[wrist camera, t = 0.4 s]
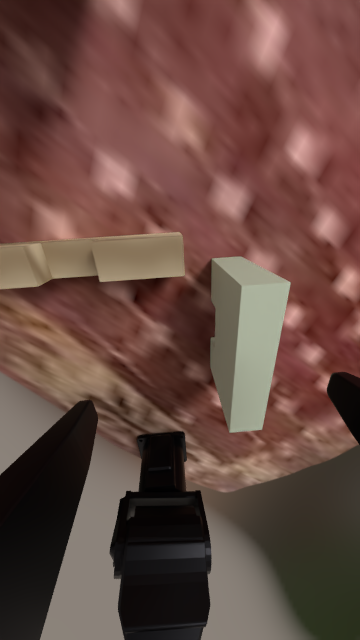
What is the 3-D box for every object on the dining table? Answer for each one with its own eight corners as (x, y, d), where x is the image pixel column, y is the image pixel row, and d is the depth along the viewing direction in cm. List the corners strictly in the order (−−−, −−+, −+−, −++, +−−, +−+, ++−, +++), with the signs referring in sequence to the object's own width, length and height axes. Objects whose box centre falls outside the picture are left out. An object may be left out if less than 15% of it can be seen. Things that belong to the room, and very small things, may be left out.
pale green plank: (232, 364, 23) (261, 429, 16) (210, 366, 23) (229, 432, 16) (241, 256, 18) (290, 282, 11) (211, 258, 18) (241, 285, 11)
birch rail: (181, 264, 18) (184, 275, 14) (-6, 277, 17) (-50, 292, 14) (179, 232, 17) (182, 235, 13) (-21, 245, 16) (-74, 252, 13)
